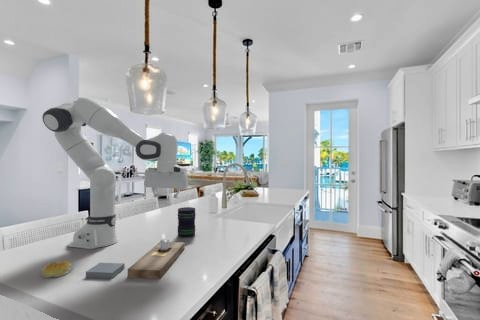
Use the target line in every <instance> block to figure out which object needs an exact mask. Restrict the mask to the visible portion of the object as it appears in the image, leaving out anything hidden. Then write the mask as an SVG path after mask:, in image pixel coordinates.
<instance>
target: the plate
mask: <svg viewBox="0 0 480 320" xmlns="http://www.w3.org/2000/svg"><path fill="white" fill-rule="evenodd" d="M125 266H126V265H125V263H124V262H123V263H121V262H99V263H97V264H95V265H93V266H92V267H91V268H90V269H88V270H86V271H85V278H89V279H90V278H91V279H94V278H95V279H113V278H115V277H116V276H117V275H119V274H120V273H121V272H122V271H123V270H125Z"/></svg>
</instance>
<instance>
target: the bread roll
mask: <svg viewBox="0 0 480 320" xmlns="http://www.w3.org/2000/svg"><path fill="white" fill-rule="evenodd" d="M73 268H74V267H73V265H72V263H71V262H69V261H60V262H51V263H49V264H47V265H45V267H43V269H42V270H41V271H42V272H41V276H42V277H43V278H46V279H50V278H59V277H63V276H66V275H68V274H69V273H71V271H72V270H73Z"/></svg>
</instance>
